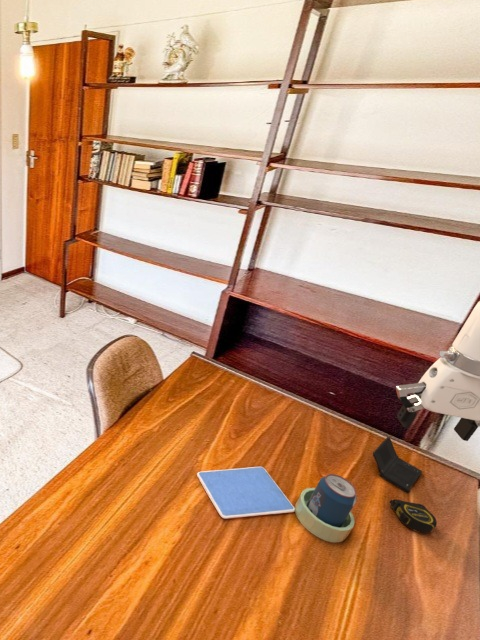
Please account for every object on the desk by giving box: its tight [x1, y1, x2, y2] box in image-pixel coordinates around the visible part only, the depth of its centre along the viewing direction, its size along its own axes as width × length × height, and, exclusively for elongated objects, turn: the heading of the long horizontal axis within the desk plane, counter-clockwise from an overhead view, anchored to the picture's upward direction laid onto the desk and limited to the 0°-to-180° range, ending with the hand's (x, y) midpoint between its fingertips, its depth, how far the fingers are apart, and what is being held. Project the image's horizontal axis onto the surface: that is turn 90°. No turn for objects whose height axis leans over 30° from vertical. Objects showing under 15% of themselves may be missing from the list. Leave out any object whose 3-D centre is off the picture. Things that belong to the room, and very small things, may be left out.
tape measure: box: [389, 498, 438, 534], centre depth 94 cm, size 7×7×4 cm
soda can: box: [306, 473, 358, 528], centre depth 91 cm, size 7×7×12 cm
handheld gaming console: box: [372, 436, 423, 493], centre depth 106 cm, size 12×7×10 cm
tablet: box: [196, 466, 295, 520], centre depth 99 cm, size 19×13×1 cm, turn 97°
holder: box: [294, 487, 355, 544], centre depth 93 cm, size 10×10×4 cm
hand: (430, 429), depth 81 cm, fingers open, 9 cm apart
